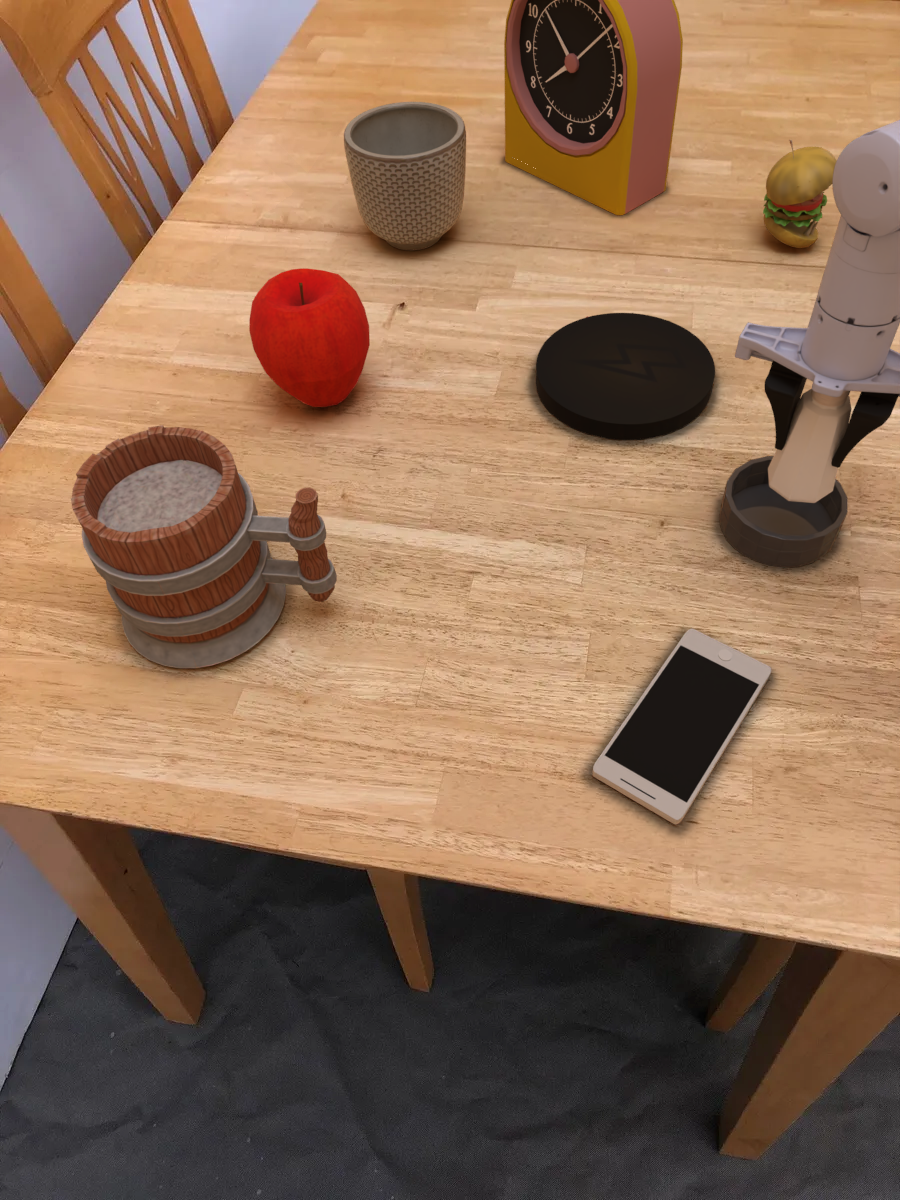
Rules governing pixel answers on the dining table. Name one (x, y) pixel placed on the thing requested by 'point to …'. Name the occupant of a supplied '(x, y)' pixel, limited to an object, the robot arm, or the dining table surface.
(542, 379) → the wireless charger
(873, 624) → the dining table surface
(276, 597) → the mug
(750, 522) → the bowl
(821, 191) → the hamburger
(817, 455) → the salt shaker
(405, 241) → the planter
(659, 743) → the smartphone
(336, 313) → the apple
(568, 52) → the alarm clock
